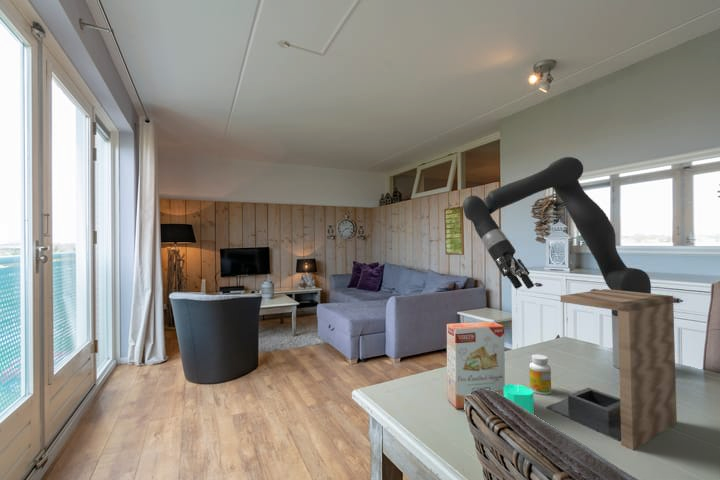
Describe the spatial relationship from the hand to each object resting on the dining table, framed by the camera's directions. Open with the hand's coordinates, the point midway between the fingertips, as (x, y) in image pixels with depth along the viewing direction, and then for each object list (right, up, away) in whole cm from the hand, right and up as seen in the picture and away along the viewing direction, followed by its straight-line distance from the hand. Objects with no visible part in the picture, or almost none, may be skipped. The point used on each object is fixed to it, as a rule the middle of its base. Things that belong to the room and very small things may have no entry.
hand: (525, 287), depth 103 cm
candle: (-17, -29, -31) cm, 45 cm away
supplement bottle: (0, -28, -9) cm, 30 cm away
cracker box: (-21, -29, -15) cm, 38 cm away
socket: (+7, -28, -22) cm, 36 cm away
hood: (+9, -28, -25) cm, 39 cm away
